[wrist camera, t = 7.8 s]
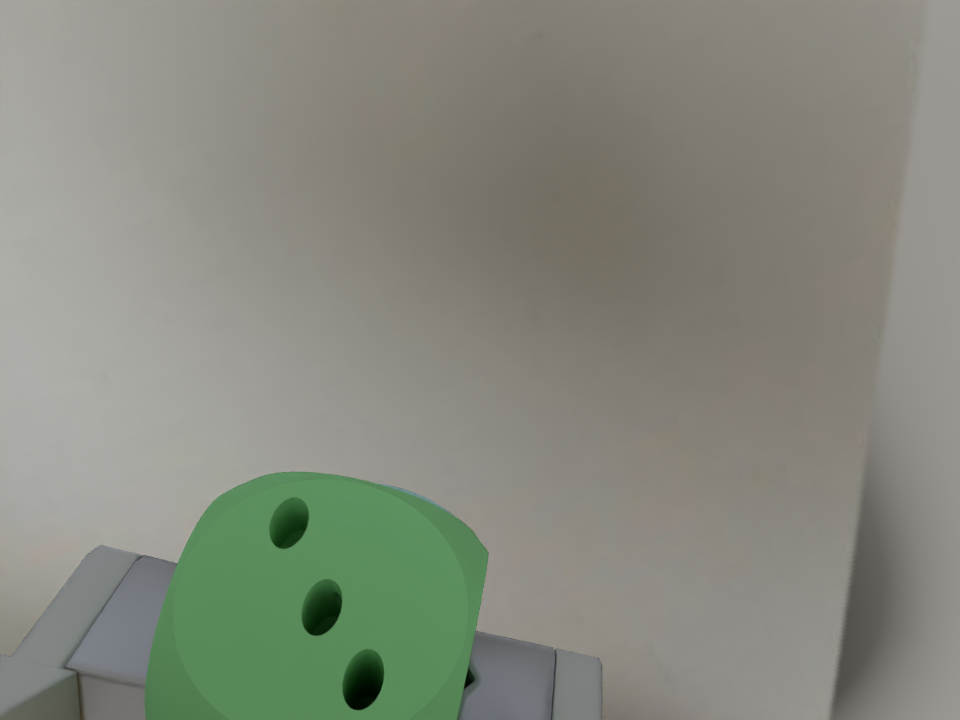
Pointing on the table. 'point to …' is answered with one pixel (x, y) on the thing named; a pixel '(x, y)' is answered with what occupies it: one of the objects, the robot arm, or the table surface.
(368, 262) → the table surface
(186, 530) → the table surface
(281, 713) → the dice
